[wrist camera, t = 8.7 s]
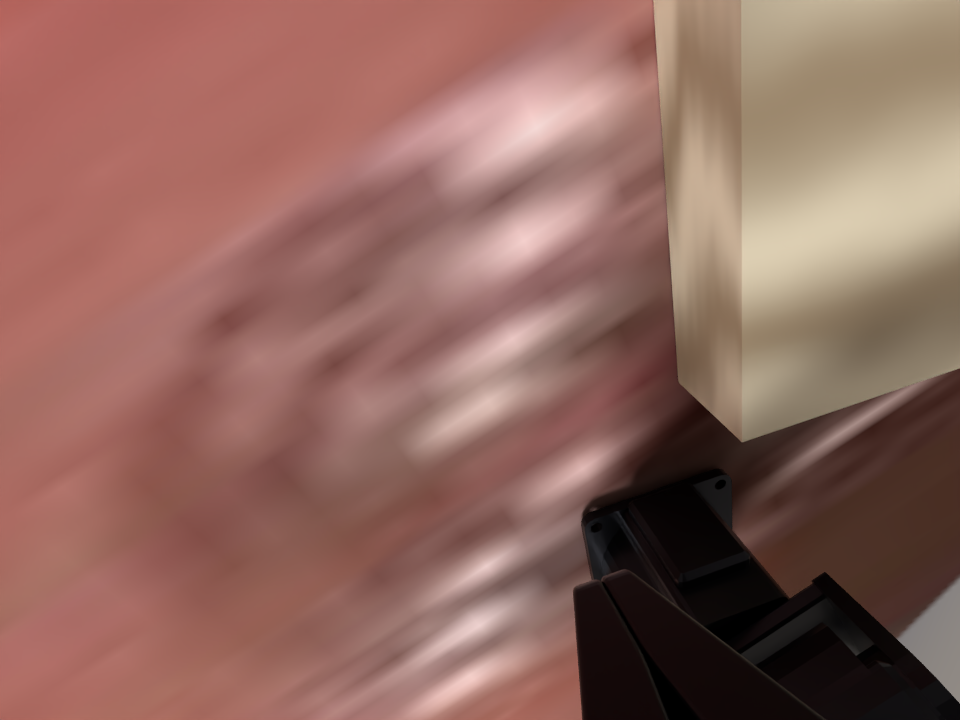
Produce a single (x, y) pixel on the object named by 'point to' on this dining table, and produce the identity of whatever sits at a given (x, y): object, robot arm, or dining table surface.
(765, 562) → the dining table surface
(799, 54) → the beige flat block
